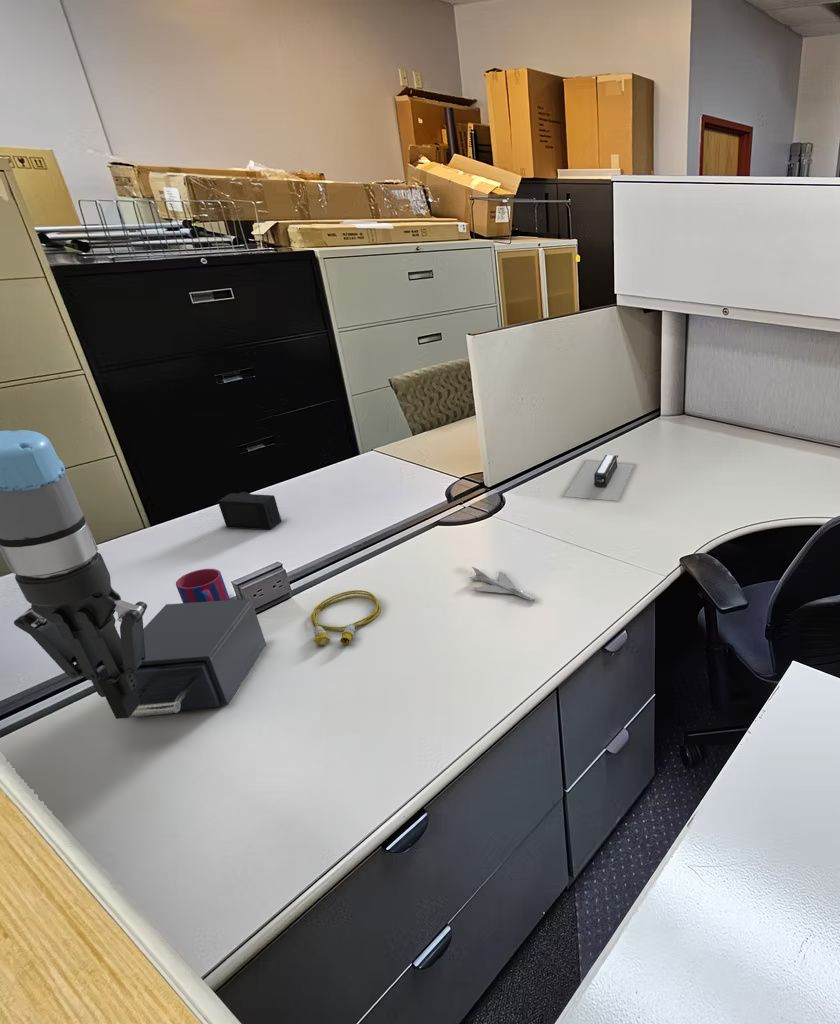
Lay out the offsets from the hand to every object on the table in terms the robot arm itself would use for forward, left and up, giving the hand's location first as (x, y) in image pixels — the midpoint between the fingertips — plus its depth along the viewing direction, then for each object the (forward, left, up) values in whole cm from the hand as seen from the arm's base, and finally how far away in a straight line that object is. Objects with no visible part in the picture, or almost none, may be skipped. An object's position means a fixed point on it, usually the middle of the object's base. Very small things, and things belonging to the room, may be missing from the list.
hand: (128, 710), depth 83 cm
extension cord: (+17, +28, -8) cm, 34 cm away
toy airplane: (+44, +36, -8) cm, 58 cm away
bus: (+69, +88, -8) cm, 112 cm away
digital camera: (-13, +69, -8) cm, 71 cm away
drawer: (0, +11, -7) cm, 13 cm away
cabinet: (0, +15, -8) cm, 17 cm away
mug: (-7, +33, -8) cm, 35 cm away
